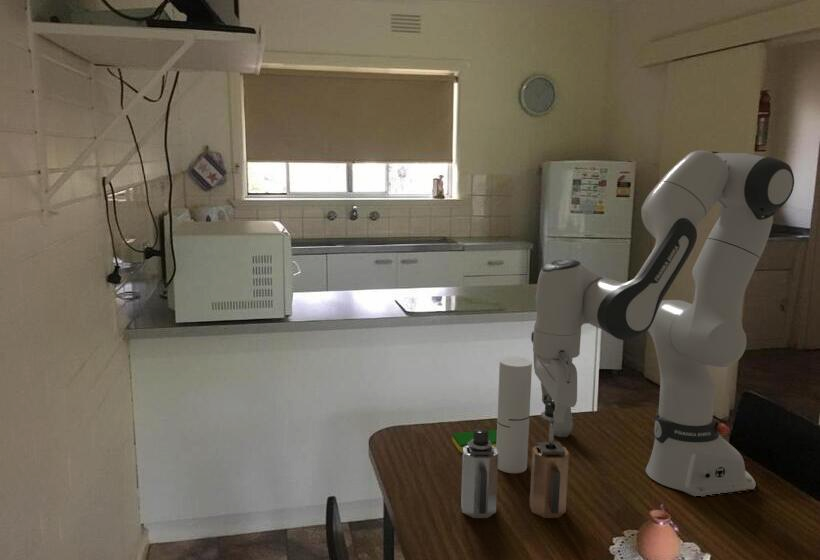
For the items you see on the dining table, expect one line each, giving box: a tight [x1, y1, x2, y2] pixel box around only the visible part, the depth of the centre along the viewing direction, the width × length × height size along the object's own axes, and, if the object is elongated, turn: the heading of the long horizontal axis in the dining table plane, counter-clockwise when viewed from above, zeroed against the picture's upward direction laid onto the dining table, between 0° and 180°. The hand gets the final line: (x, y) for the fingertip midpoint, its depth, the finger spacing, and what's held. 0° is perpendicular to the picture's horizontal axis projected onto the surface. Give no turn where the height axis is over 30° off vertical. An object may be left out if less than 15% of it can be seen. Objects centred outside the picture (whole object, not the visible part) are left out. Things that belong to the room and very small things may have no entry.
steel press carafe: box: [460, 442, 499, 519], centre depth 131 cm, size 7×9×13 cm
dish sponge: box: [451, 429, 497, 454], centre depth 164 cm, size 7×14×2 cm, turn 104°
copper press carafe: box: [529, 441, 570, 519], centre depth 132 cm, size 7×9×13 cm
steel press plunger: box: [469, 428, 492, 450], centre depth 132 cm, size 4×4×12 cm
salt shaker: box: [554, 407, 574, 438], centre depth 170 cm, size 6×6×13 cm
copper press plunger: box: [540, 400, 555, 449], centre depth 131 cm, size 4×4×12 cm
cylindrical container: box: [496, 356, 533, 474], centre depth 150 cm, size 7×7×25 cm
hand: (552, 412), depth 130 cm, fingers open, 8 cm apart
